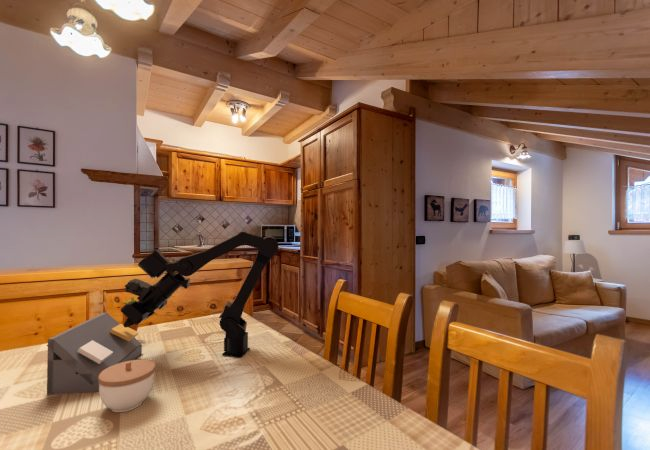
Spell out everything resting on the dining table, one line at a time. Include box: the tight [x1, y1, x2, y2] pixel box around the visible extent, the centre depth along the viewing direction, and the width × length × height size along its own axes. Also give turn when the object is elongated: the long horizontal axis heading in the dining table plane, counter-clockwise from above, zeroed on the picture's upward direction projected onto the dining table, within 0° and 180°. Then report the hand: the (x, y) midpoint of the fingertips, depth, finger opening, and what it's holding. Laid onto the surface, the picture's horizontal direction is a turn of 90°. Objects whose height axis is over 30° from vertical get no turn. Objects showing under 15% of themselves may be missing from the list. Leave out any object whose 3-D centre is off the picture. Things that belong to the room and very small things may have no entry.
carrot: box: [122, 296, 139, 332], centre depth 104 cm, size 5×5×15 cm
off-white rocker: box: [77, 340, 113, 364], centre depth 76 cm, size 5×5×5 cm
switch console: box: [46, 312, 143, 395], centre depth 82 cm, size 12×22×13 cm, turn 8°
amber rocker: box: [110, 323, 140, 341], centre depth 90 cm, size 5×5×5 cm
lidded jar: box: [98, 359, 157, 413], centre depth 67 cm, size 11×11×9 cm
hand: (124, 326), depth 90 cm, fingers closed
